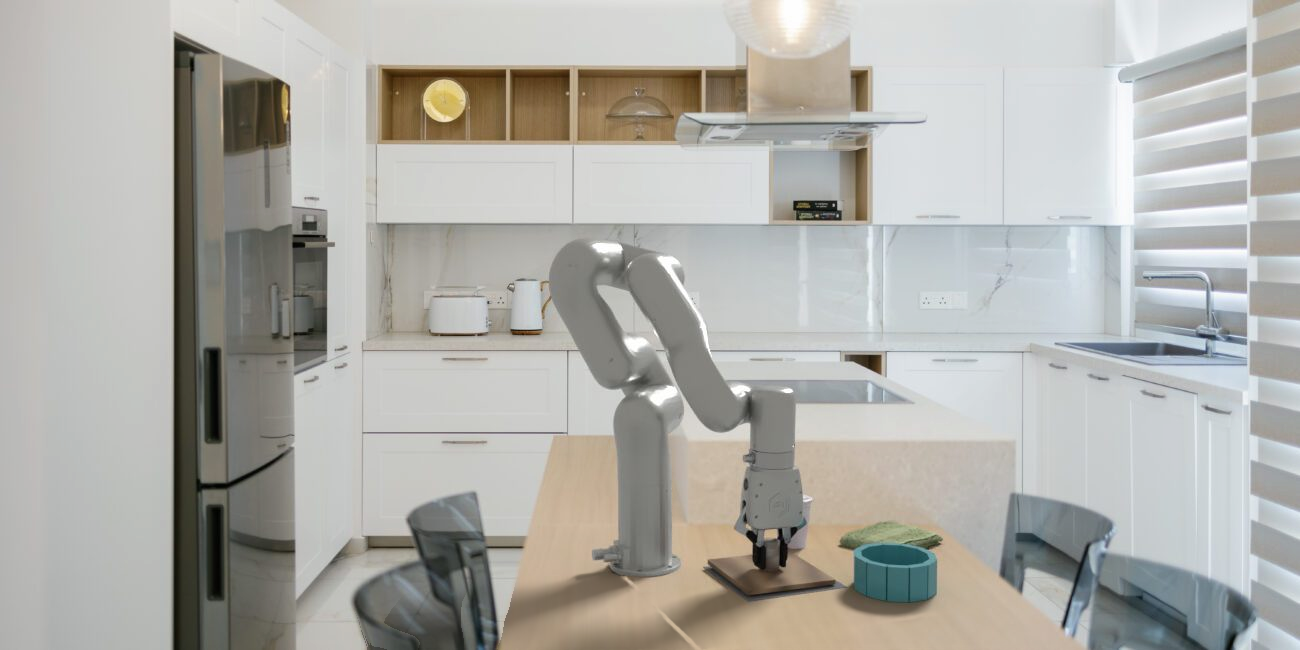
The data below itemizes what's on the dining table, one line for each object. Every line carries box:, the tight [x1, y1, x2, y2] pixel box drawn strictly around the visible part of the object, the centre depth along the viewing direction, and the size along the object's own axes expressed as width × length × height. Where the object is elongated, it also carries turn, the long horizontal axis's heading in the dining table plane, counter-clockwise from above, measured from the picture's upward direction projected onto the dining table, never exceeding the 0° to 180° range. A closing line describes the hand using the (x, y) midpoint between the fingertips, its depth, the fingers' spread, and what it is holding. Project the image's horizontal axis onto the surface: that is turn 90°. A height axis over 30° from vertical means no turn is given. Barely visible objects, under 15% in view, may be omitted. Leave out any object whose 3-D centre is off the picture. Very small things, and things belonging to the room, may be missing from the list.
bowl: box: [852, 543, 938, 603], centre depth 155 cm, size 13×13×6 cm
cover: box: [707, 537, 837, 595], centre depth 161 cm, size 16×16×6 cm
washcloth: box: [838, 520, 944, 550], centre depth 180 cm, size 13×18×3 cm
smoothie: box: [788, 494, 814, 550], centre depth 177 cm, size 6×6×14 cm
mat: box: [703, 565, 848, 603], centre depth 161 cm, size 18×18×1 cm
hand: (769, 565), depth 161 cm, fingers closed on cover, 3 cm apart
